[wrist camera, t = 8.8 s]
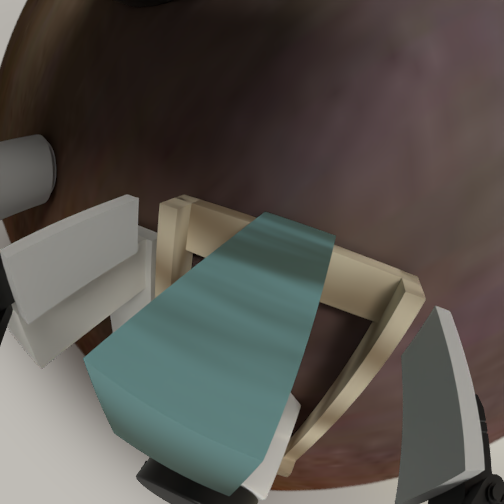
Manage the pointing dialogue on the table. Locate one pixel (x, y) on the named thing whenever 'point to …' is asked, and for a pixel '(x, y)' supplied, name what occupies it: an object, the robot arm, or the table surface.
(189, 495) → the jar
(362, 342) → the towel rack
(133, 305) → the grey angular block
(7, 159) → the can
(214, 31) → the table surface
